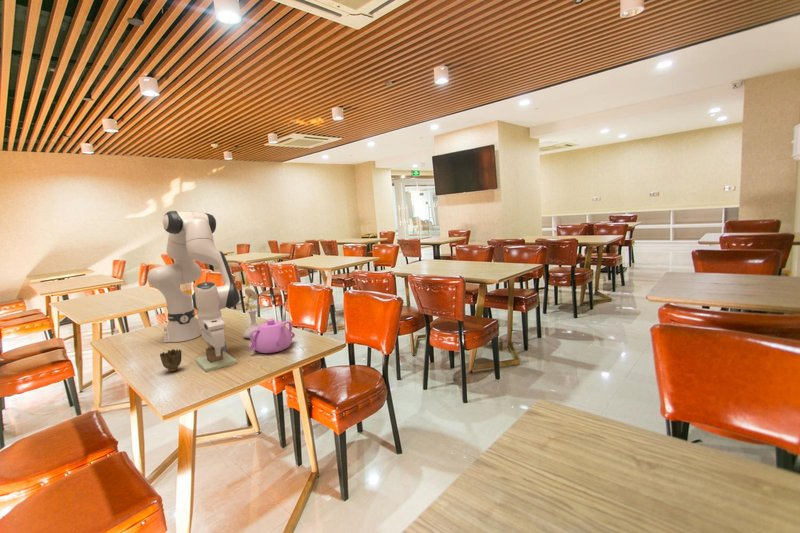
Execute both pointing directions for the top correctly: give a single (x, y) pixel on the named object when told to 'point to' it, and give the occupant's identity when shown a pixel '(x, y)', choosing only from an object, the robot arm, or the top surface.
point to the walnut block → (213, 355)
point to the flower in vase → (251, 313)
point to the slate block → (224, 348)
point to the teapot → (271, 337)
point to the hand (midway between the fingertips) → (214, 353)
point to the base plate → (215, 365)
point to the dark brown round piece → (171, 359)
